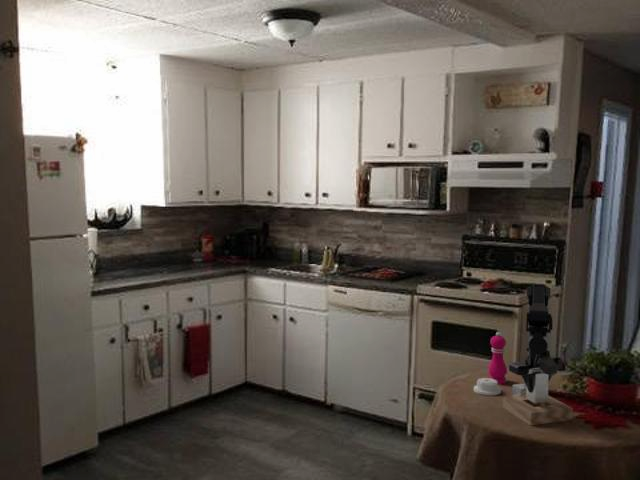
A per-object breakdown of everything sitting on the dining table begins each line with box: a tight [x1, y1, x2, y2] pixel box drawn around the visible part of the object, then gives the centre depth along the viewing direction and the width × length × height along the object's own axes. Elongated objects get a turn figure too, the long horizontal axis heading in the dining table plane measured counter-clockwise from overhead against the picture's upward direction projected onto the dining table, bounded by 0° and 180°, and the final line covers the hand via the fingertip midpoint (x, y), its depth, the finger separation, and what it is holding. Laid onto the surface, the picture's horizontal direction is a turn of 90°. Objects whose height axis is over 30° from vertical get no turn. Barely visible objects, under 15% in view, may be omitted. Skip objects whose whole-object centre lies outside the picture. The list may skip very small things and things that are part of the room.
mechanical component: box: [473, 377, 502, 396], centre depth 229 cm, size 10×4×10 cm
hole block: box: [502, 395, 574, 426], centre depth 205 cm, size 16×16×4 cm
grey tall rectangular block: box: [526, 369, 549, 403], centre depth 205 cm, size 5×5×10 cm
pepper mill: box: [487, 331, 508, 385], centre depth 240 cm, size 7×7×20 cm
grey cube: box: [511, 383, 526, 396], centre depth 220 cm, size 5×5×5 cm
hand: (537, 391), depth 205 cm, fingers closed on grey tall rectangular block, 5 cm apart
